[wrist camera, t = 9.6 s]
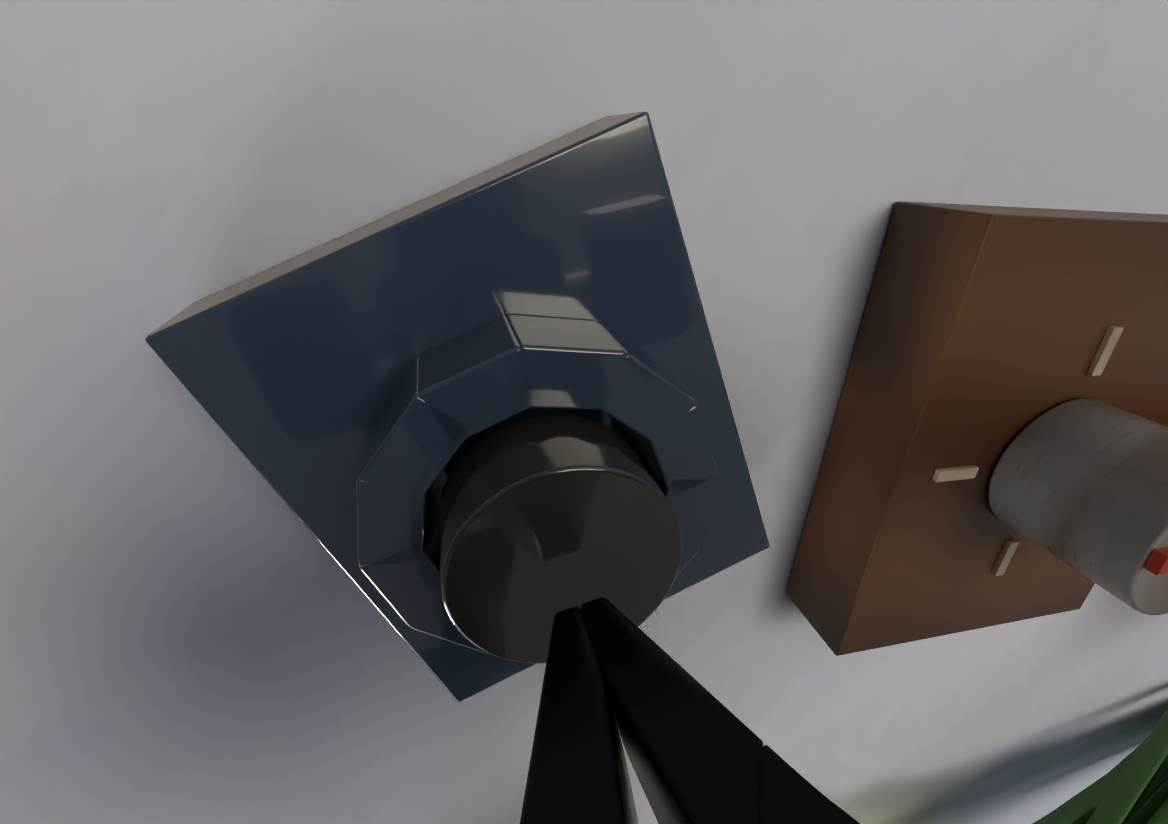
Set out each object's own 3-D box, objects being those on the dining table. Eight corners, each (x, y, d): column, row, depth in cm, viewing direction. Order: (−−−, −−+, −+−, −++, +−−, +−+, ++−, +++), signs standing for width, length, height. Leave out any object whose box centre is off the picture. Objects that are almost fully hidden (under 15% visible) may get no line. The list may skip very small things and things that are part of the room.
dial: (1136, 393, 17) (1344, 468, 13) (1071, 515, 18) (1236, 611, 15) (1022, 401, 15) (1213, 485, 12) (966, 530, 17) (1115, 637, 14)
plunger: (669, 533, 13) (709, 597, 11) (496, 619, 13) (508, 698, 11) (605, 376, 11) (642, 423, 9) (394, 475, 10) (389, 544, 9)
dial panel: (1008, 558, 24) (1084, 612, 21) (784, 592, 21) (839, 660, 18) (1175, 215, 18) (1311, 229, 15) (894, 201, 15) (998, 214, 12)
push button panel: (729, 499, 18) (812, 596, 14) (453, 635, 18) (462, 774, 14) (609, 114, 12) (694, 103, 9) (192, 302, 12) (80, 381, 8)
